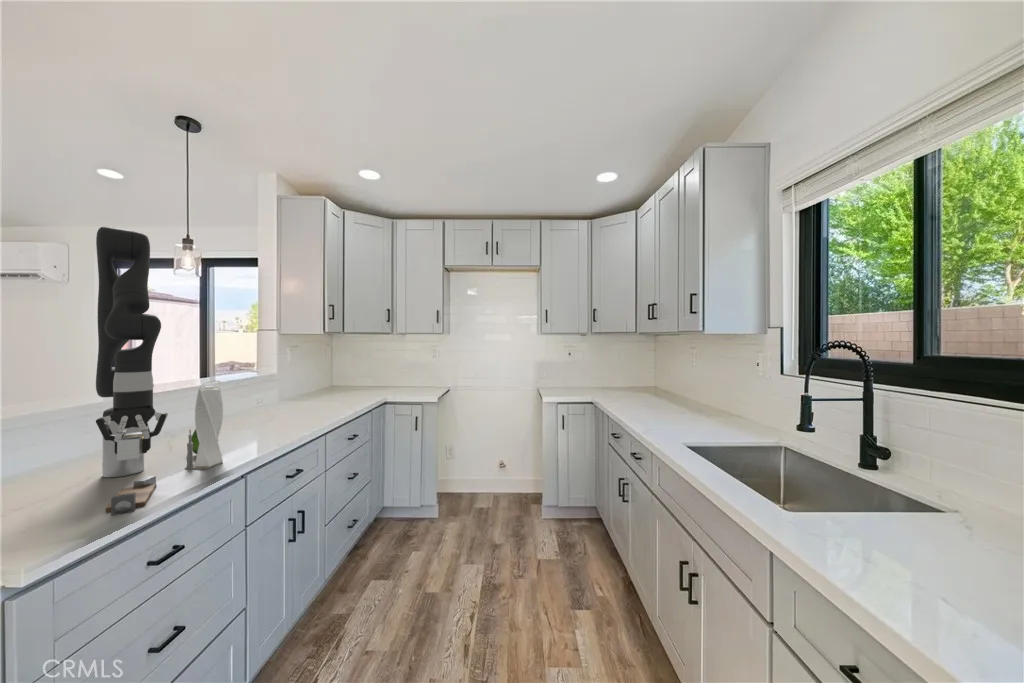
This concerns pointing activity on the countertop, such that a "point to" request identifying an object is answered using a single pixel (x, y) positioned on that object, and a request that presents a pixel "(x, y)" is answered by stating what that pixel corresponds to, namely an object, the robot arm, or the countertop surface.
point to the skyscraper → (207, 428)
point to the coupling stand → (132, 496)
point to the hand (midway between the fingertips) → (133, 453)
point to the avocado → (195, 442)
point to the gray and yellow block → (130, 446)
